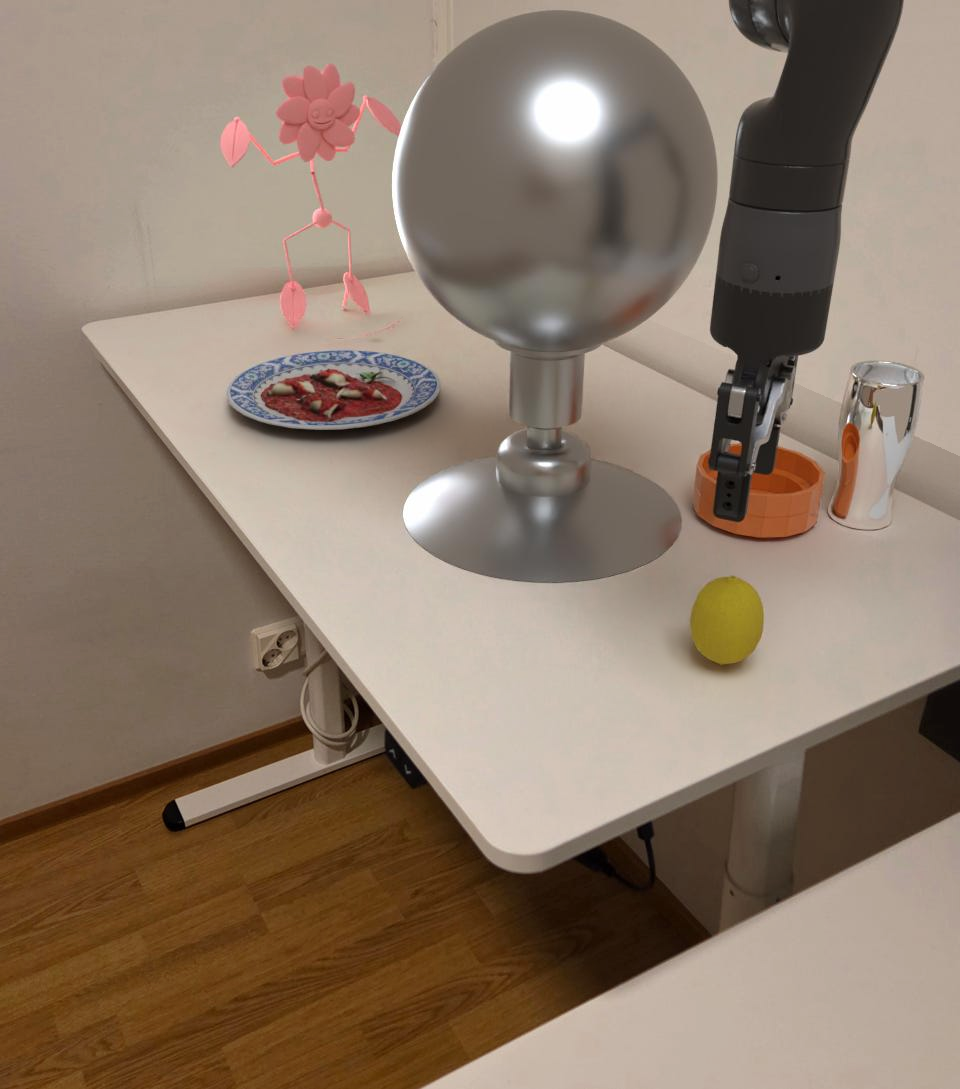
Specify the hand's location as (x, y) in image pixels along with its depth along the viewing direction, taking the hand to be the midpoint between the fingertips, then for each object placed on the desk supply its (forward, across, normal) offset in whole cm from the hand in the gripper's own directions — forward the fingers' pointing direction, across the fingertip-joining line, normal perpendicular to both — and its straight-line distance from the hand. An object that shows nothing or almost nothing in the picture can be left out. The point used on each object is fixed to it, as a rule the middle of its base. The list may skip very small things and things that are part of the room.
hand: (744, 493), depth 80 cm
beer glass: (+15, +31, -6) cm, 35 cm away
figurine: (+15, +58, +73) cm, 95 cm away
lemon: (+15, 0, 0) cm, 15 cm away
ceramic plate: (+15, +33, +57) cm, 68 cm away
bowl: (+15, +27, +4) cm, 31 cm away
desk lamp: (+15, +18, +23) cm, 33 cm away
